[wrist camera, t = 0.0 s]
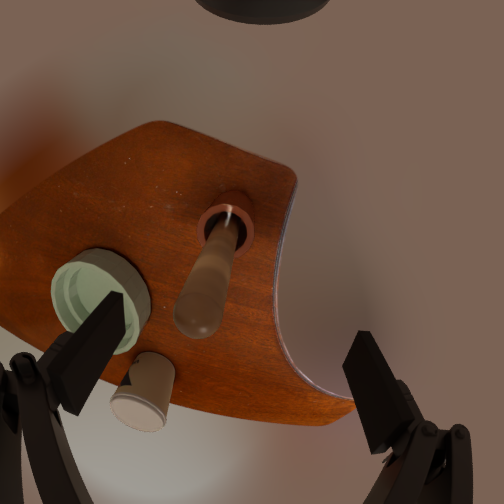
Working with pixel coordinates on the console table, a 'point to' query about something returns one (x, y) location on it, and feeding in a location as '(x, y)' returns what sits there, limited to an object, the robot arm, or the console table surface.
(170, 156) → the console table surface
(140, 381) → the coffee cup
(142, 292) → the bowl
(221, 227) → the stick
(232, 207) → the crock
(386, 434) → the robot arm
